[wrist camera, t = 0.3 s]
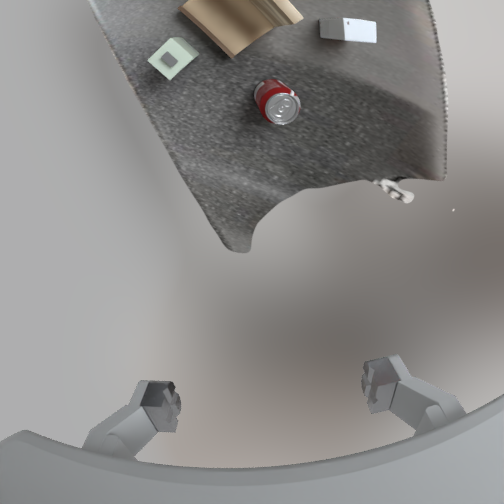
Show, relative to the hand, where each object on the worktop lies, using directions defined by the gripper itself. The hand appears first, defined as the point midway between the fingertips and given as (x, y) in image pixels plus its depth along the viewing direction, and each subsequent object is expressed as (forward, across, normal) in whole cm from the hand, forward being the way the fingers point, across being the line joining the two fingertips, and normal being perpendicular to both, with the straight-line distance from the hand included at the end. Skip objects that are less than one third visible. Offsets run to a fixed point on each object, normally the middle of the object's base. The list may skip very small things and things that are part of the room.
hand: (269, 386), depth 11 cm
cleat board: (+41, 0, -37) cm, 55 cm away
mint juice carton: (+43, +10, -31) cm, 54 cm away
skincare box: (+44, -19, -33) cm, 58 cm away
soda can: (+49, -5, -21) cm, 53 cm away
